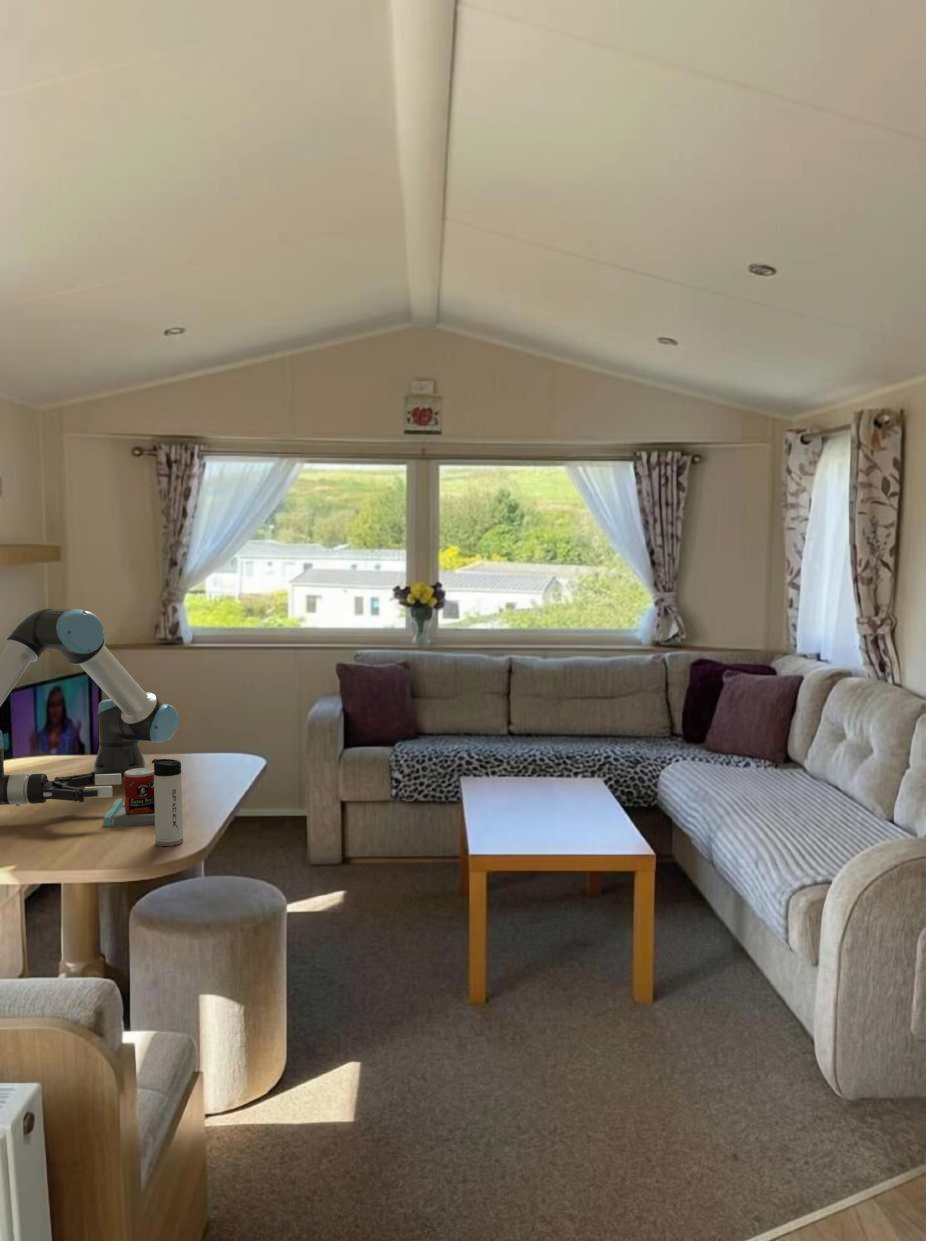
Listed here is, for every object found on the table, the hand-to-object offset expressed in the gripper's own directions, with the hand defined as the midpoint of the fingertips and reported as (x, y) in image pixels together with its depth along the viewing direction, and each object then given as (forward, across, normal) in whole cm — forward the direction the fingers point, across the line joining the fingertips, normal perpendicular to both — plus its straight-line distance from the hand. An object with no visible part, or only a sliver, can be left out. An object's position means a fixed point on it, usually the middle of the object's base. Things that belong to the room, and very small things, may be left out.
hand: (116, 785), depth 249 cm
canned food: (+6, 0, -8) cm, 10 cm away
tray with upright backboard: (+6, 0, -8) cm, 10 cm away
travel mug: (+16, +26, -8) cm, 31 cm away
